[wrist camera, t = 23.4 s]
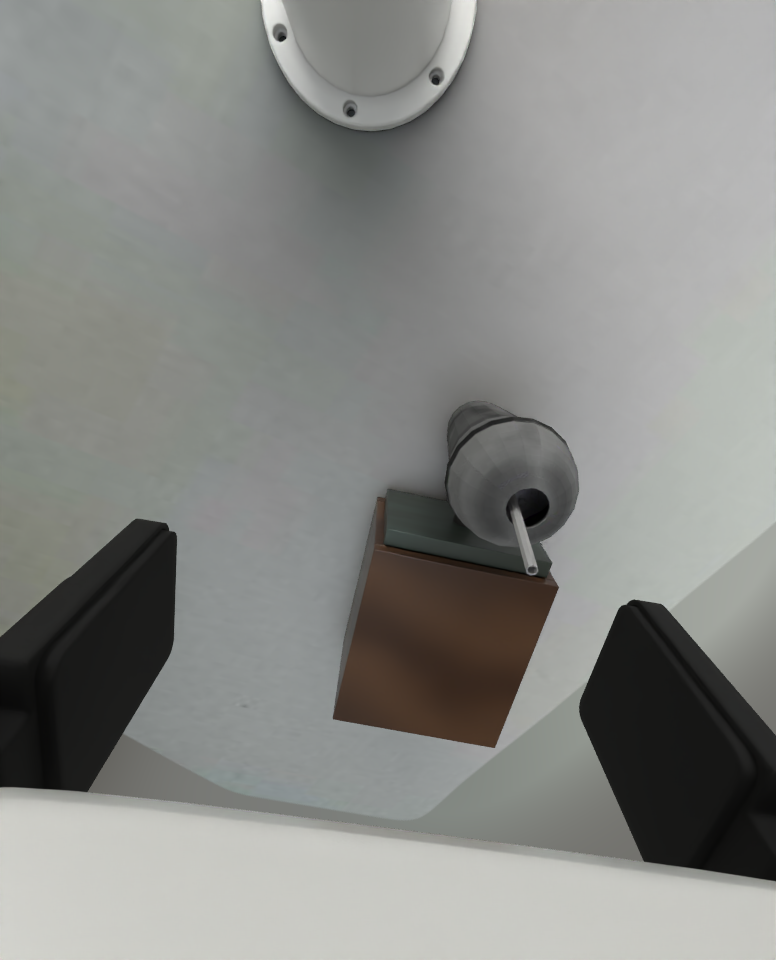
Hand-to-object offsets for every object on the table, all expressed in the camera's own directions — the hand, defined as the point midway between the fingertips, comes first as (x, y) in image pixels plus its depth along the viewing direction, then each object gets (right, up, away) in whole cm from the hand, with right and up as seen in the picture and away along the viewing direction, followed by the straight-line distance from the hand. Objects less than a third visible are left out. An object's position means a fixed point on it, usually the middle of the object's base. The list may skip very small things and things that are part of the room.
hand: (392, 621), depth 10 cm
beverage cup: (+7, +7, +28) cm, 30 cm away
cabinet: (+4, -6, +33) cm, 34 cm away
